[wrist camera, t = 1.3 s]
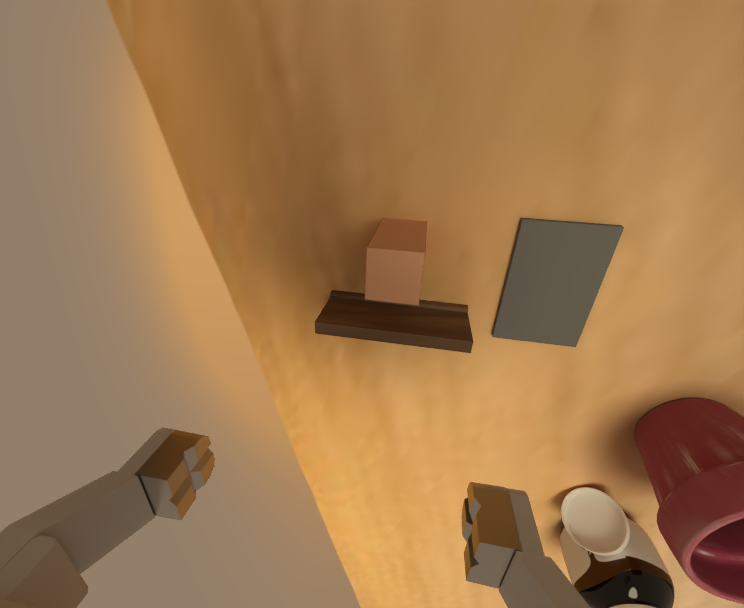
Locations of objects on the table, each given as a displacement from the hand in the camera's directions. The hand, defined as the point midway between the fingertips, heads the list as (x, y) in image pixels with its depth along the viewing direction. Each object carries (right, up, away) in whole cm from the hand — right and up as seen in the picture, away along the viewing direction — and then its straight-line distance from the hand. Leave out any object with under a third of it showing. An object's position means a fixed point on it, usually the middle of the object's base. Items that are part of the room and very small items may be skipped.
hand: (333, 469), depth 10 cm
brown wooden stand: (+4, +4, +25) cm, 26 cm away
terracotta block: (+4, +11, +21) cm, 24 cm away
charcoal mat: (+18, +7, +21) cm, 28 cm away
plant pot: (+35, -8, +26) cm, 44 cm away
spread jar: (+30, -23, +34) cm, 51 cm away
